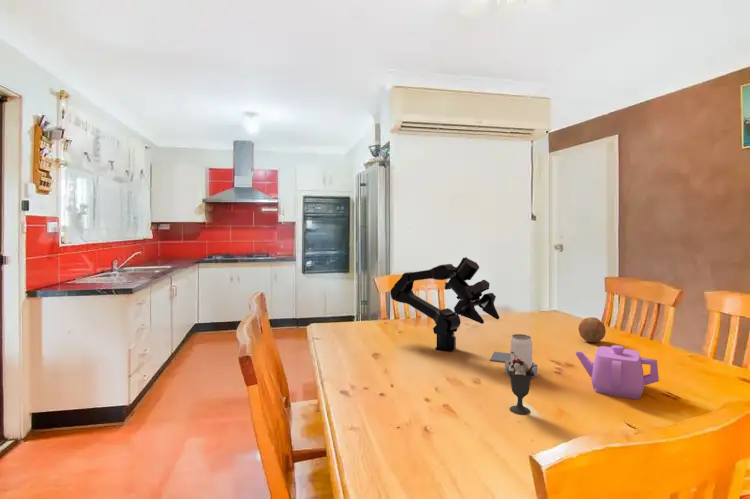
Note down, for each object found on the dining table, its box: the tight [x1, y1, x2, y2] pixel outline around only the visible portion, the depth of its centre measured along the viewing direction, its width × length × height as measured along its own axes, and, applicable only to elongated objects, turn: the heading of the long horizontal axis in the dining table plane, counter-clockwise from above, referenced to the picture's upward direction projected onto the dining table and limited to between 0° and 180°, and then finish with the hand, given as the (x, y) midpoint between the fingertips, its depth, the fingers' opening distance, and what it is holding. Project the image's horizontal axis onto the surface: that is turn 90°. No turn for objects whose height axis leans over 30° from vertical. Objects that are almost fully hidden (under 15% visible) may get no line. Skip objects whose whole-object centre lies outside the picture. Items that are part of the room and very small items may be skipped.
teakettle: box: [575, 344, 660, 400], centre depth 119 cm, size 17×17×12 cm
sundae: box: [507, 351, 534, 416], centre depth 105 cm, size 7×7×15 cm
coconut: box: [578, 317, 607, 343], centre depth 167 cm, size 10×10×10 cm
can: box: [510, 333, 533, 368], centre depth 132 cm, size 6×6×12 cm
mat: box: [489, 351, 511, 363], centre depth 147 cm, size 10×10×1 cm
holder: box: [504, 360, 538, 380], centre depth 132 cm, size 10×10×3 cm
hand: (491, 320), depth 144 cm, fingers open, 9 cm apart
